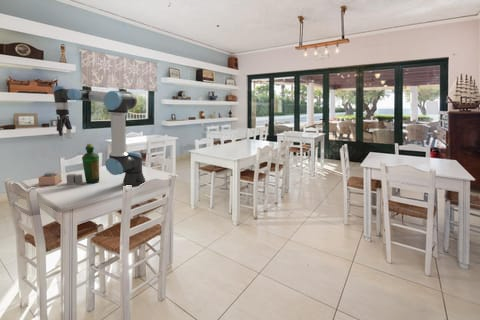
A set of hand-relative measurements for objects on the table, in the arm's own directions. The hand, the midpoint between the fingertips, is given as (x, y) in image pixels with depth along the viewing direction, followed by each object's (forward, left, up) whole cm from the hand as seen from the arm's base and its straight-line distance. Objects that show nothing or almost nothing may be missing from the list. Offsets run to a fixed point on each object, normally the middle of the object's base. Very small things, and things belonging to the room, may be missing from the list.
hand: (65, 139), depth 193 cm
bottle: (-17, 0, -31) cm, 36 cm away
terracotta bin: (+10, +6, -31) cm, 33 cm away
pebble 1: (+10, +6, -30) cm, 33 cm away
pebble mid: (-4, +4, -31) cm, 32 cm away
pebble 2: (-8, +3, -31) cm, 32 cm away
